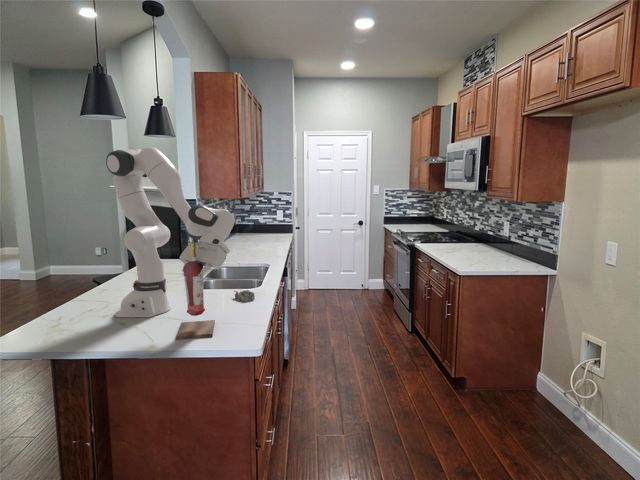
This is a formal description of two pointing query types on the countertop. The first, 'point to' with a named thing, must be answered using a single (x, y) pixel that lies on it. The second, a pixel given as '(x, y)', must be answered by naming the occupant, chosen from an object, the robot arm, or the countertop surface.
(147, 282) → the robot arm
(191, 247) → the liquor
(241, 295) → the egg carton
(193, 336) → the serving board
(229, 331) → the countertop surface
